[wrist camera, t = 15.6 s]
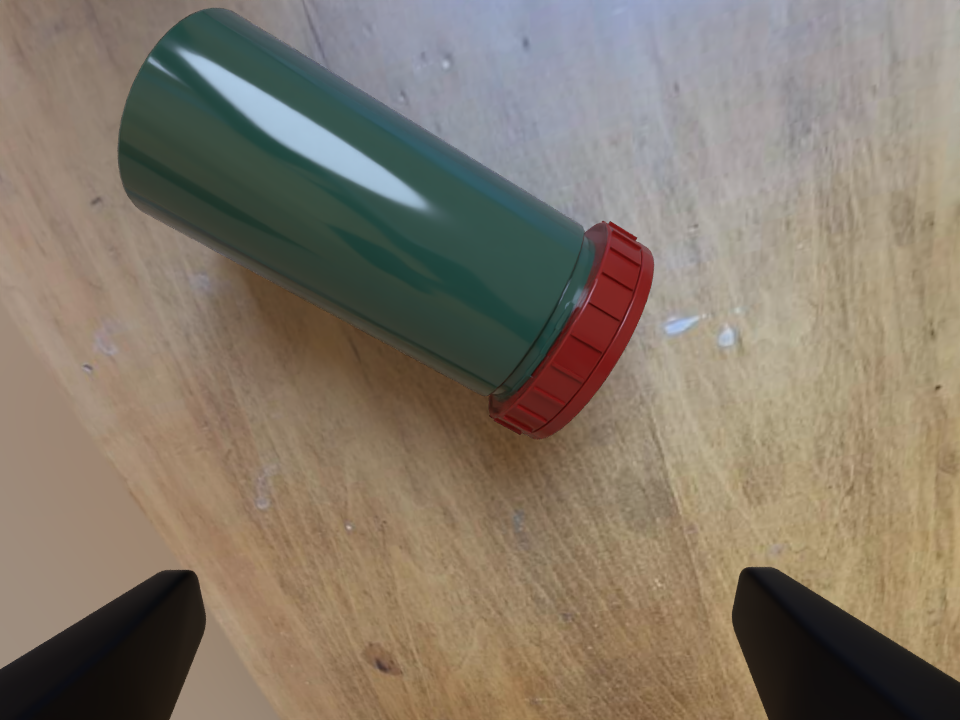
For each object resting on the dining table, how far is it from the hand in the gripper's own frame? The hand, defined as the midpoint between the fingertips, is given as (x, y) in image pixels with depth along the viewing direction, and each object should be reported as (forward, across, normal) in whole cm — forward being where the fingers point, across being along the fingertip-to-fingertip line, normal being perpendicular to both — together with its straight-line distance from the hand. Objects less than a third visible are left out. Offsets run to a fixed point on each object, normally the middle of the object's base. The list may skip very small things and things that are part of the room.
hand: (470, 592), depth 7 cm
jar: (+10, +8, -7) cm, 15 cm away
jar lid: (+10, -3, -1) cm, 10 cm away
